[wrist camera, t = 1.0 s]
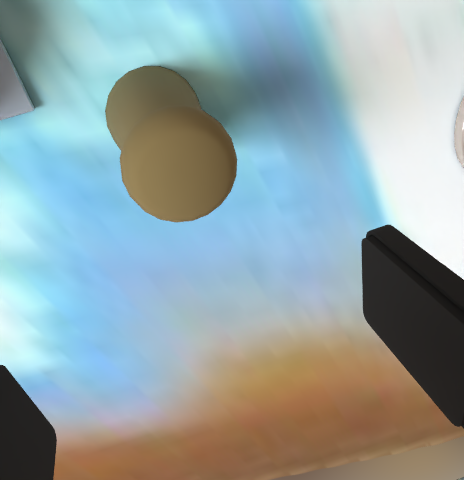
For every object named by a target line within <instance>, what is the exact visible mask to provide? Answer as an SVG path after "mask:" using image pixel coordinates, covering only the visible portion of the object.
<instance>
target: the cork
mask: <svg viewBox="0 0 464 480" xmlns="http://www.w3.org/2000/svg"><path fill="white" fill-rule="evenodd" d="M105 112H106V120H107V127H108V129H109V131H110V133H111V135H112V137H113V139H114V141H115V143H116V144H117V146H118V147H119V148H120V150H121V155H120V164H121V173H122V181H123V183H124V185H125V187H126V189H127V191H128V193H129V195H130V197H131V198H132V199H133V200H134V201H135V202H136V203H137V204H138V205H139V206H140V207H141V208H142V209H143V210H144V211H145V212H147V213H149V214H151V215H152V216H154V217H156V218H158V219H161V220H166V221H172V222H184V221H193V220H195V219H198V218H200V217H203V216H205V215H208V214H209V213H211V212H212V211H213V210H214V209H216V208H217V207H218V206H220V205H221V204H222V202H223V201H224V200H225V198H226V197H227V196H228V194H229V193H230V192H231V189H232V186H233V184H234V181H235V178H236V170H237V157H236V153H235V149H234V146H233V142H232V139H231V137H230V136H229V134H228V133H227V132H226V130H225V129H224V127H223V126H222V124H221V123H219V122H218V121H217V120H216V119H214V118H213V117H212V116H210V115H209V114H207V113H206V112H205V111H203V110H202V109H201V106H200V104H199V101H198V98H197V96H196V93H195V92H194V90H193V89H192V87H191V86H190V85H189V83H188V82H187V81H186V80H185V79H184V78H183V77H181V76H180V75H179V74H177V73H176V72H175V71H172V70H169V69H166V68H163V67H160V66H143V67H140V68H137V69H135V70H132V71H129V72H128V73H126V74H125V75H124V76H123V77H122V78H120V79H119V80H118V81H117V82H116V83H115V85H114V87H113V88H112V90H111V92H110V93H109V95H108V100H107V105H106V110H105Z"/></svg>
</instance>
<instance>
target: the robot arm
mask: <svg viewBox="0 0 464 480" xmlns="http://www.w3.org/2000/svg"><path fill="white" fill-rule="evenodd" d="M454 141H455V150H456V154H457V158H458V160H459V161H460V163H461V165H462V167H463V168H464V97H463V100H462V102H461V104H460V108H459V111H458V115H457V118H456V124H455V132H454ZM362 284H363V313H364V317H365V319H366V321H367V323H368V324H369V325H370V326H371V328H372V329H373V330H374V331H375V332H376V334H377V335H378V336H379V337H380V338H381V339H382V341H383V342H384V343H385V344H386V345H387V347H388V348H389V349H390V350H391V351H392V353H393V354H394V355H395V356H396V357H397V359H398V360H399V361H400V362H401V363H402V364H403V366H404V367H405V368H406V369H407V370H408V372H409V373H410V374H411V375H412V376H413V378H414V379H415V380H416V381H417V382H418V384H419V385H420V386H421V387H422V388H423V389H424V391H425V392H426V393H427V394H428V395H429V397H430V398H431V399H432V400H433V401H434V403H435V404H436V405H437V406H438V407H439V409H440V410H441V411H442V412H443V413H444V415H445V416H446V417H447V418H448V419H449V420H450V421H451V423H452V424H454V425H455V426H457V427H459V426H462V427H463V428H464V280H463V279H462V278H461V277H459V276H458V275H457V274H455V273H454V272H453V271H451V270H450V269H449V268H447V267H446V266H445V265H443V264H442V263H440V262H439V261H438V260H436V259H435V258H434V257H432V256H431V255H430V254H429V253H427V252H426V251H425V250H423V249H422V248H421V247H419V246H418V245H417V244H415V243H414V242H413V241H411V240H410V239H409V238H408V237H406V236H405V235H404V234H402V233H401V232H400V231H398V230H397V229H396V228H394V227H393V226H391V225H385V226H382V227H379V228H376V229H374V230H371V231H369V232H367V234H366V238H364V239H363V240H362ZM56 442H57V439H56V433H55V430H54V428H53V427H52V425H51V424H50V423H49V421H48V420H47V419H46V418H45V416H44V415H43V414H42V413H41V411H40V410H39V409H38V407H37V406H36V405H35V404H34V402H33V401H32V400H31V399H30V397H29V396H28V395H27V394H26V392H25V391H24V390H23V388H22V387H21V386H20V385H19V383H18V382H17V381H16V380H15V378H14V377H13V376H12V375H11V373H10V372H9V371H8V369H7V368H6V367H5V366H3V365H0V480H53V476H54V465H55V454H56ZM458 480H464V477H463V478H460V479H458Z"/></svg>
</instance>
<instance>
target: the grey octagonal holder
mask: <svg viewBox="0 0 464 480" xmlns="http://www.w3.org/2000/svg"><path fill="white" fill-rule="evenodd" d="M34 109H35V107H34V105H33V103H32V101H31V99H30V97H29V95H28V93H27V91H26V89H25V87H24V85H23V83H22V81H21V79H20V77H19V75H18V73H17V71H16V69H15V67H14V65H13V63H12V61H11V59H10V57H9V55H8V53H7V51H6V49H5V47H4V45H3V43H2V41H1V39H0V120H3V119H6V118H10V117H13V116H17V115H20V114H23V113H27V112H30V111H33V110H34Z"/></svg>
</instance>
